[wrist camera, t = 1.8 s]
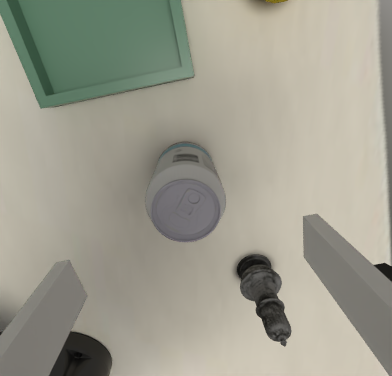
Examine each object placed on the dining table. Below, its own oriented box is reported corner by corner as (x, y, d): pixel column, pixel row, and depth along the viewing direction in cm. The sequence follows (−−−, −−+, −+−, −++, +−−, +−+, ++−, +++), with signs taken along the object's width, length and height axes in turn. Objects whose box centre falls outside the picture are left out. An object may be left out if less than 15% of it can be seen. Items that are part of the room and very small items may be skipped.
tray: (53, 107, 26) (40, 108, 24) (-13, -55, 21) (-37, -74, 18) (193, 77, 26) (194, 75, 23) (161, -97, 20) (159, -121, 18)
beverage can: (148, 177, 30) (126, 226, 18) (175, 129, 28) (169, 153, 16) (194, 201, 31) (199, 261, 20) (223, 159, 29) (246, 198, 18)
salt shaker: (246, 247, 34) (276, 320, 23) (279, 259, 36) (323, 335, 24) (228, 276, 36) (247, 357, 25) (260, 287, 37) (292, 368, 26)
